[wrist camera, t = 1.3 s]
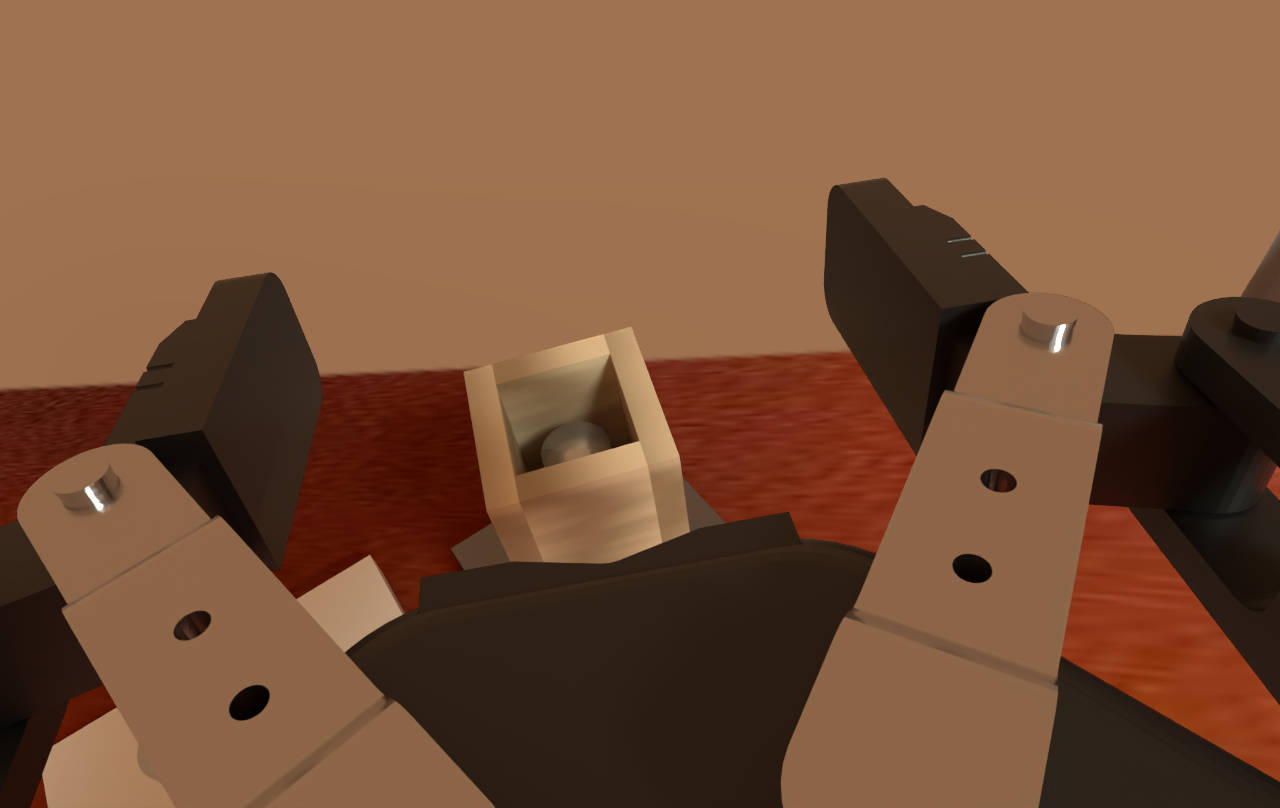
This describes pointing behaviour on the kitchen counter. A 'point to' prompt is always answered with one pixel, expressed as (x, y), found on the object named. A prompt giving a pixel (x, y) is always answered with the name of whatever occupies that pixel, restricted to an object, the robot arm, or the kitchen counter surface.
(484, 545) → the stand
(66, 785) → the board
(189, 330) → the robot arm
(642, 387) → the sleeve
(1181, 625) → the kitchen counter surface
